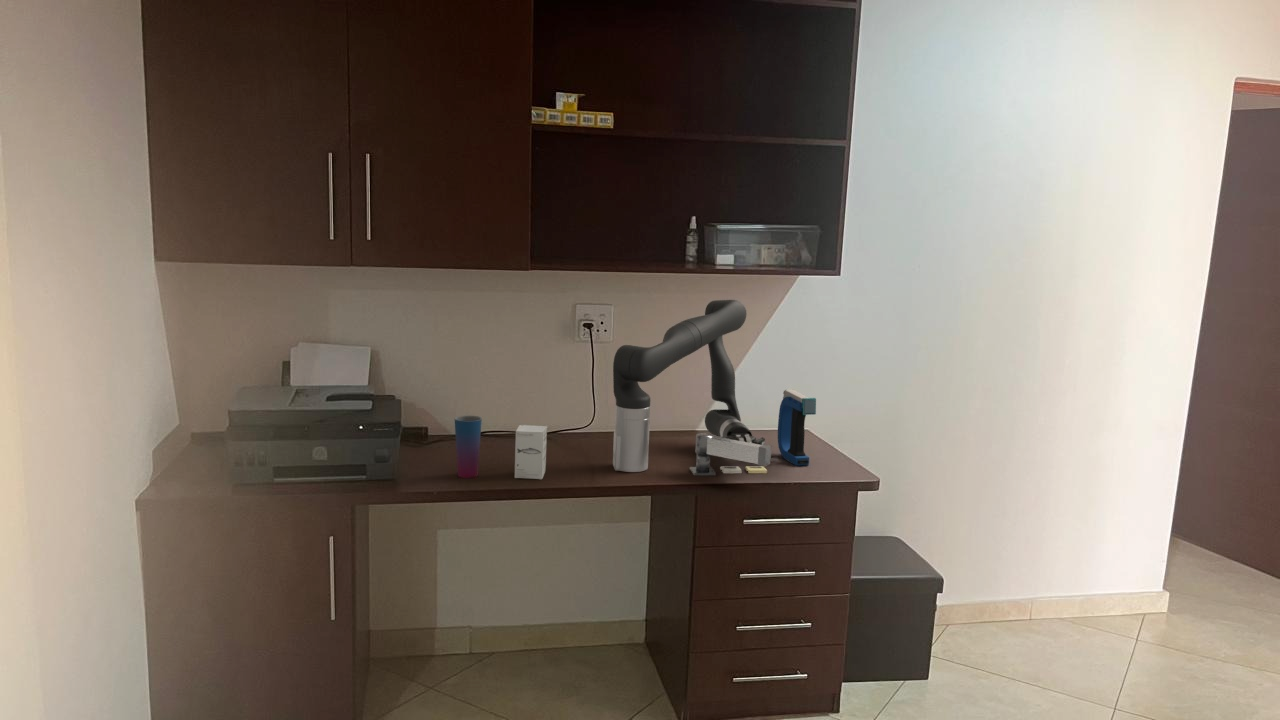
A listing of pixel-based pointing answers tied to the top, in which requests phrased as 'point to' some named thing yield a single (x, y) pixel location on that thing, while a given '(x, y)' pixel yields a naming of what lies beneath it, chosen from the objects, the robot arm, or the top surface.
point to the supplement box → (530, 451)
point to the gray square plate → (702, 466)
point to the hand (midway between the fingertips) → (750, 450)
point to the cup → (467, 445)
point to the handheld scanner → (794, 426)
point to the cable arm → (733, 449)
